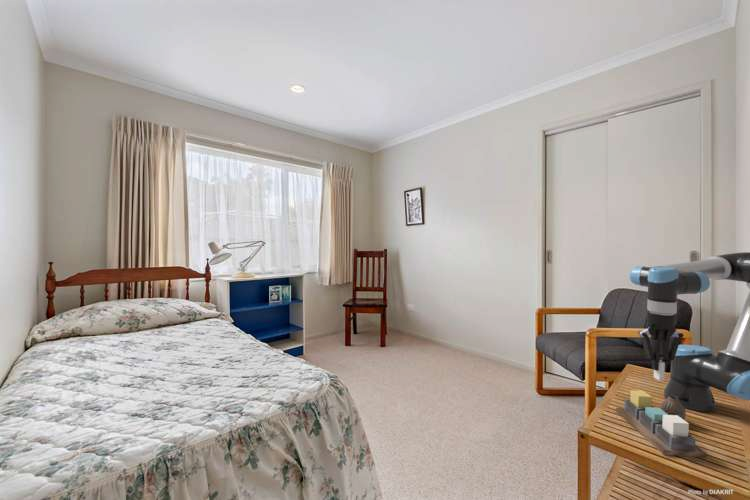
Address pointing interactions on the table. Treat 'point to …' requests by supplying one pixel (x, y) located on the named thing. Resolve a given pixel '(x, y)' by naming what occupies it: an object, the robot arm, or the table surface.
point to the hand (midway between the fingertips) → (658, 378)
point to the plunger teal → (655, 413)
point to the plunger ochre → (640, 399)
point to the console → (659, 433)
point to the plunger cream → (675, 425)
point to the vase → (673, 407)
